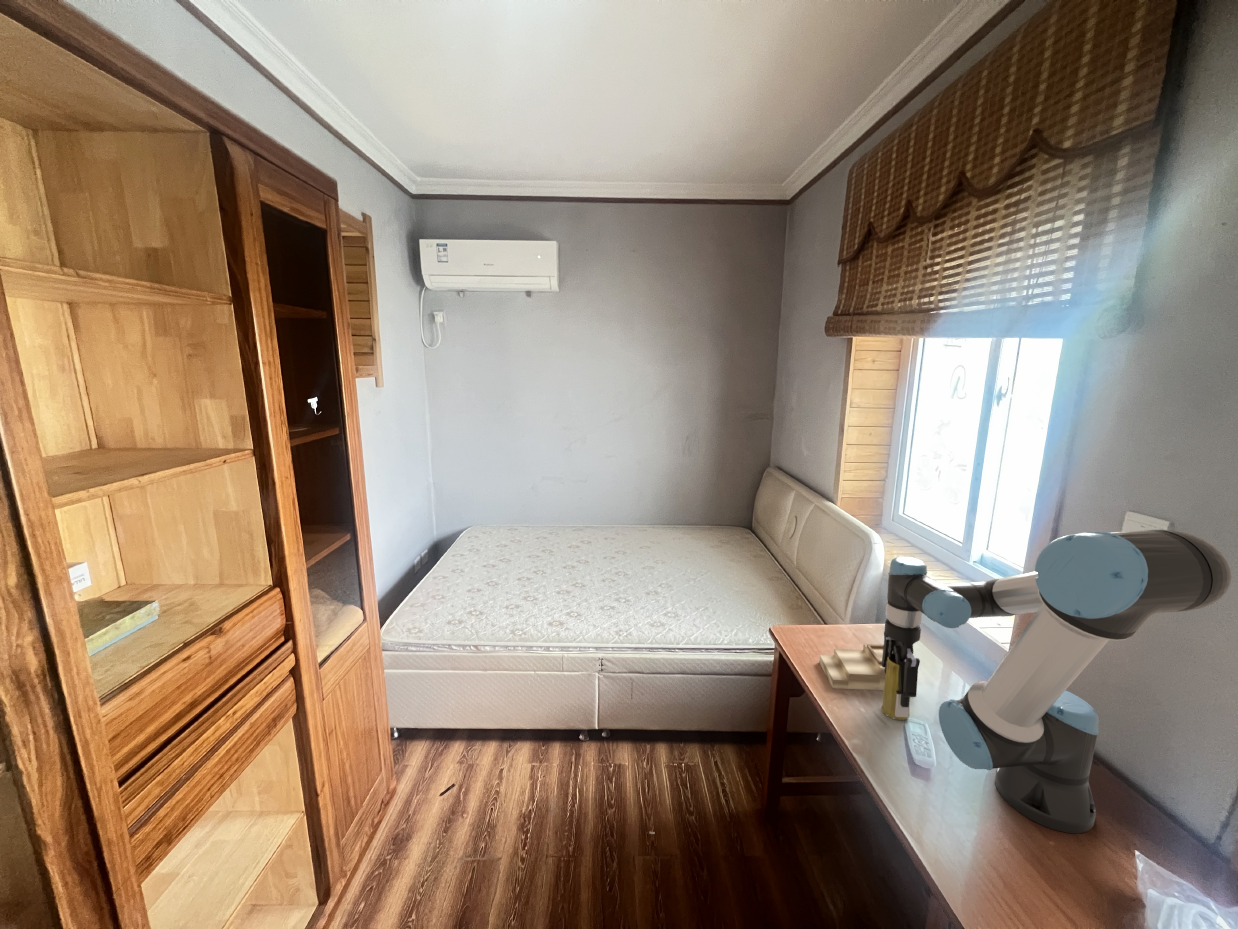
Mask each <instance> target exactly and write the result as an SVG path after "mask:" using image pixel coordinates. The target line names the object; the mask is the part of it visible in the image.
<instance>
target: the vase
mask: <svg viewBox="0 0 1238 929" xmlns="http://www.w3.org/2000/svg"><path fill="white" fill-rule="evenodd" d="M900 661H905V660H900ZM898 671H899V665H898V664H897V663H896V661H893V660H892V659H891V655H889V656H888V659H887V670H886V678H885V687H884V690H883V696H882V705H881V711H882V712H883V714H884V715H885V716H887V717H889V718H890V719H892V720H893V719H894V720H897V721H904V720H905V721H906V720H908V719H909V718H910V712H909V713H908V717H896V716H895V708H896V697H897V693H896V691H899V675H898Z"/></svg>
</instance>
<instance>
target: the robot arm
mask: <svg viewBox="0 0 1238 929" xmlns="http://www.w3.org/2000/svg"><path fill="white" fill-rule="evenodd" d="M927 567H928V566H927V564H926V563H925V562H924V561H923V560H921V559H919V558H916V557H910V556H897V557H894V558H893V559H891V560H890V565H889V572H888V574H887V575H888V580H887V581H888V582H887V596H886V598H887V599H886V605H885V617H886V618H885V620H884V631H883V640H884V641H883V644H884V647H883V656H882V667H885V670H884V671H885V674H886V670H887V663H886V662H887V659H888V656H889V655H891V659H892V660H893V661H896V663H897V664H898V665H899V671H898V675H899V691H896V693H897V697H896V708H895V716H896V717H908V713H909V714H910V703H911V702H910V701H911V699H910V698H917V692H918V691H917V690H918V674H919V666H920V663H921V660H920V658H918V657H915V656H914V644H916V643H918V642H919V641H920V640H921V631H922V625H921V624H922V619H923V615H924V616H926V617H927V618H928V619H929V620H931V621H932V622H935V623H936V624H939V625H941V626H942V627H943V628H947V629H957V628H960V627H961V626H963V625H965V624H966V623H968V622H969V620H970V619H977V618H994V617H996V618H997V617H1012V616H1013V617H1014V616H1016V615H1017V616H1018V615H1021V614H1022V615H1023V614H1032V613H1035V614H1034V615H1033V616H1032V617H1031V619H1030V621H1029V622H1028V624H1027V625H1026V627H1025V628H1024V629H1023V631H1022V632H1021V633H1020V635H1019V636H1018V637H1017V639H1016V640H1015V642H1014V644H1012V646H1011V647H1010V649H1009V651H1008V652H1007V653H1006V655H1005V656H1004V658H1003V659H1001V661H1000V663H999V664H998V666H997V668H996V669H995V670H994V672H993V673H992V674H991V675H990V677H989V679H988V680H981V681H976V682H975V683H973V684H972V685H971V686H970V687H969V689H968V690H967V691H966V693H965V694H964V696H963V697H962V698H960V699H949V700H946V701H943V702H942V703H941V704H940V706H939V709H938V721H939V726H940V729H941V733H942V734H943V737H944V740H945V741H946V744H947V745H948V747H949V749H950V751H951V752H952V753H953V755H955V757H956V758H957V759H958V760H959V761H960V762H961V763H962V764H964V765H966V766H967V767H968V768H971V769H974V770H987V771H991V770H993V769H995V770H996V771H995V776H994V783H995V784H994V785H995V787H996V789H997V791H998V793H999V794H1000V796H1001V797H1002V798H1003V799H1004V800H1005V802H1006V803H1007V804H1009V805H1010V806H1011V807H1012V808H1013V809H1015V810H1016V811H1017V812H1018V813H1020V814H1021V815H1023V816H1024V817H1026V818H1028V819H1030V820H1031V821H1033V822H1035V823H1036V824H1039V825H1041V826H1044V827H1047V828H1049V829H1051V830H1054V831H1058V832H1062V833H1067V834H1083V833H1087V832H1089V831H1090V830H1091V829H1092V828H1093V827H1094V825H1095V819H1096V815H1097V814H1096V813H1097V810H1096V805H1095V802H1094V798H1093V795H1092V791H1091V787H1090V783H1089V779H1090V773H1091V770H1092V763H1093V760H1094V759H1093V758H1094V754H1095V749H1096V745H1097V744H1096V743H1097V738H1098V736H1099V734H1100V731H1099V724H1100V723H1099V722H1100V718H1099V714H1098V713H1097V711H1096V710H1095V709H1094V707H1093V706H1091V705H1090V703H1089V702H1087V701H1086V700H1084V699H1082V698H1081V697H1079V696H1077V695H1076V694H1074V693H1072V692H1070V691H1068V690H1067V689H1068V688H1069V687H1070V685H1071V684H1073V682H1074V681H1075V680H1076V679H1077V677H1079V675H1080V674H1081V673H1082V672H1083V670H1085V669H1086V668H1087V666H1088V665H1089V664H1090V663H1091V662H1092V661H1093V660H1094V658H1095V657H1096V656H1097V655H1098V654H1099V652H1101V650H1102V649H1103V648H1104V646H1106V645H1107V643H1108V642H1109V641H1113V642H1116V641H1118V642H1121V641H1126V640H1128V639H1130V638H1131V637H1133V636H1134V634H1135V633H1136V632H1137V631H1138V630H1140V628H1141V627H1142V626H1143V625H1144V623H1146V622H1147V620H1148V619H1149V618H1150V617H1152V616H1153V615H1155V614H1163V613H1175V612H1176V613H1178V612H1188V611H1189V612H1190V611H1195V610H1200V609H1203V608H1206V607H1209V606H1212V605H1213V604H1215V603H1216V602H1218V601H1220V600H1221V599H1222V598H1223V597H1224V596H1225V594H1227V592H1228V591H1229V589H1230V587H1231V585H1232V584H1231V582H1232V570H1231V567H1230V565H1229V562H1228V560H1227V559H1226V557H1225V556H1224V555H1223V554H1222V552H1221V551H1219V549H1218V548H1216V546H1214V545H1213V544H1211V543H1210V542H1208V541H1206V540H1205V539H1203V538H1200V537H1198V536H1196V535H1194V534H1191V533H1187V532H1185V531H1184V532H1183V531H1180V530H1174V529H1173V530H1172V529H1148V530H1147V529H1146V530H1133V531H1115V532H1114V531H1113V532H1111V531H1110V532H1105V531H1084V532H1080V533H1078V532H1077V533H1075V534H1069V535H1068V534H1067V535H1065V536H1062V537H1058V538H1056V539H1054V540H1052V541H1051V542H1049V543H1048V544H1047V545H1045V547H1044V548H1042V550H1041V551H1040V553H1039V554H1038V557H1037V558H1036V561H1035V565H1034V571H1031V572H1026V573H1022V574H1017V575H1016V574H1015V575H1011V576H1004V577H1001V578H995V579H990V580H984V581H983V580H982V581H972V582H971V581H970V582H966V581H965V582H964V581H963V582H949V583H941V582H938V581H936V580H934V579H933V578H931V577H929V576H927V574H928V568H927ZM900 660H905V661H900ZM885 678H886V677H885Z"/></svg>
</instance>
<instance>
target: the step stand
mask: <svg viewBox="0 0 1238 929" xmlns="http://www.w3.org/2000/svg"><path fill="white" fill-rule="evenodd" d="M883 647H884V643H882V644H880V643H863V646H862V649H845V648H842V649H841V648H834V652H833V654H819V661H818V662H819V664H820V667H821V668H822V670H823V672H824V675H825V676H826V678H827V680H828V682H829V684H830V686H831V688H832V689H841V690H842V689H845V690H866V691H867V690H869V691H884V687H885V677H886V674H885V671H884V670H885V667H882V656H883ZM886 663H887V662H886Z"/></svg>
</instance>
